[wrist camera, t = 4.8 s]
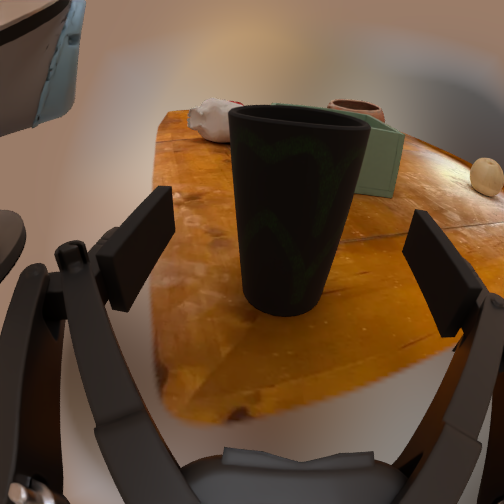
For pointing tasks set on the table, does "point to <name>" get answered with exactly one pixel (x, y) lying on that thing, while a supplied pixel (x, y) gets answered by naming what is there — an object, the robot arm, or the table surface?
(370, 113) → the bowl
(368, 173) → the open storage box
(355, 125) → the cup
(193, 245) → the table surface
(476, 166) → the apple
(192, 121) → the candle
